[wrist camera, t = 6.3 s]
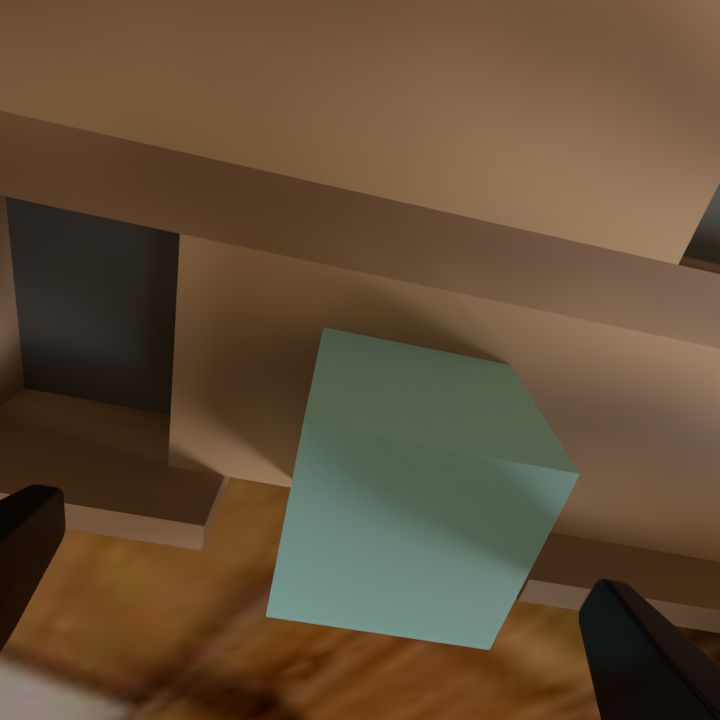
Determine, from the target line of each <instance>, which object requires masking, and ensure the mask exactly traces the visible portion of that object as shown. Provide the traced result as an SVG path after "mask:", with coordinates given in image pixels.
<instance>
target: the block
mask: <svg viewBox="0 0 720 720" xmlns="http://www.w3.org/2000/svg"><path fill="white" fill-rule="evenodd" d="M579 475H580V473H579V472H578V470H577V468H576V467H575V465H574V464H573V462H572V461H571V459H570V457H569V456H568V454H567V453H566V451H565V450H564V448H563V446H562V445H561V443H560V442H559V440H558V439H557V437H556V435H555V434H554V432H553V431H552V429H551V428H550V426H549V424H548V423H547V421H546V420H545V418H544V417H543V415H542V413H541V412H540V410H539V409H538V407H537V406H536V404H535V402H534V401H533V399H532V398H531V396H530V394H529V393H528V391H527V390H526V388H525V387H524V385H523V383H522V382H521V380H520V379H519V377H518V376H517V374H516V372H515V371H514V369H513V368H512V366H511V365H508V364H503V363H498V362H493V361H488V360H483V359H478V358H473V357H468V356H464V355H459V354H454V353H449V352H444V351H439V350H434V349H429V348H424V347H419V346H414V345H409V344H404V343H399V342H394V341H389V340H384V339H379V338H374V337H369V336H365V335H360V334H355V333H350V332H345V331H340V330H335V329H330V328H325V327H323V332H322V337H321V341H320V346H319V351H318V355H317V360H316V365H315V370H314V374H313V379H312V384H311V388H310V393H309V398H308V403H307V407H306V412H305V417H304V421H303V426H302V432H301V437H300V442H299V447H298V452H297V458H296V463H295V468H294V473H293V478H292V483H291V489H290V494H289V499H288V504H287V509H286V515H285V520H284V525H283V530H282V535H281V540H280V546H279V551H278V556H277V561H276V566H275V572H274V577H273V582H272V587H271V592H270V597H269V603H268V608H267V613H266V617H272V618H279V619H286V620H292V621H299V622H306V623H312V624H319V625H326V626H333V627H339V628H346V629H353V630H359V631H366V632H373V633H379V634H386V635H393V636H399V637H406V638H413V639H420V640H426V641H433V642H440V643H446V644H453V645H460V646H466V647H473V648H480V649H486V650H490V648H491V646H492V644H493V642H494V640H495V638H496V636H497V634H498V632H499V630H500V628H501V626H502V624H503V622H504V620H505V619H506V617H507V615H508V613H509V611H510V609H511V607H512V605H513V603H514V601H515V599H516V597H517V595H518V593H519V591H520V589H521V588H522V586H523V584H524V582H525V580H526V578H527V576H528V574H529V572H530V570H531V568H532V566H533V564H534V562H535V560H536V559H537V557H538V555H539V553H540V551H541V549H542V547H543V545H544V543H545V541H546V539H547V537H548V535H549V533H550V531H551V529H552V528H553V526H554V524H555V522H556V520H557V518H558V516H559V514H560V512H561V510H562V508H563V506H564V504H565V502H566V500H567V498H568V497H569V495H570V493H571V491H572V489H573V487H574V485H575V483H576V481H577V479H578V477H579Z"/></svg>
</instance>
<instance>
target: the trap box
mask: <svg viewBox="0 0 720 720" xmlns="http://www.w3.org/2000/svg"><path fill="white" fill-rule="evenodd" d="M323 327H325V328H330V329H335V330H340V331H345V332H350V333H355V334H360V335H365V336H369V337H374V338H379V339H384V340H389V341H394V342H399V343H404V344H409V345H414V346H419V347H424V348H429V349H434V350H439V351H444V352H449V353H454V354H459V355H464V356H468V357H473V358H478V359H483V360H488V361H493V362H498V363H503V364H508V365H511V366H512V368H513V369H514V371H515V372H516V374H517V376H518V377H519V379H520V380H521V382H522V383H523V385H524V387H525V388H526V390H527V391H528V393H529V394H530V396H531V398H532V399H533V401H534V402H535V404H536V406H537V407H538V409H539V410H540V412H541V413H542V415H543V417H544V418H545V420H546V421H547V423H548V424H549V426H550V428H551V429H552V431H553V432H554V434H555V435H556V437H557V439H558V440H559V442H560V443H561V445H562V446H563V448H564V450H565V451H566V453H567V454H568V456H569V457H570V459H571V461H572V462H573V464H574V465H575V467H576V468H577V470H578V472H579V473H580V475H579V477H578V479H577V481H576V483H575V485H574V487H573V489H572V491H571V493H570V495H569V497H568V498H567V500H566V502H565V504H564V506H563V508H562V510H561V512H560V514H559V516H558V518H557V520H556V522H555V524H554V526H553V528H552V529H551V531H550V533H549V535H548V537H547V539H546V541H545V543H544V545H543V547H542V549H541V551H540V553H539V555H538V557H537V559H536V560H535V562H534V564H533V566H532V568H531V570H530V572H529V574H528V576H527V578H526V580H525V582H524V584H523V586H522V588H521V589H520V591H519V593H518V595H517V599H518V601H521V602H527V603H534V604H540V605H546V606H552V607H559V608H565V609H571V610H578V611H580V608H581V606H582V604H583V602H584V601H585V599H586V597H587V596H588V594H589V593H590V591H591V589H592V588H593V586H594V584H595V583H596V582H597V580H599V579H601V578H608V579H614V580H620V581H623V582H625V583H627V584H628V585H630V586H631V587H632V588H633V589H634V590H635V591H636V592H638V593H639V594H640V595H641V596H642V597H643V598H644V599H645V600H646V601H648V602H649V603H650V604H651V605H652V606H653V607H654V608H655V609H656V610H658V611H659V612H660V613H661V614H662V615H663V616H664V617H665V618H666V619H668V620H669V621H670V622H671V623H672V624H673V625H674V626H678V627H684V628H691V629H697V630H703V631H709V632H716V633H720V0H0V500H1V499H3V498H5V497H7V496H9V495H11V494H13V493H15V492H17V491H19V490H21V489H23V488H25V487H27V486H30V485H33V484H41V485H47V486H53V487H58V488H60V489H61V490H62V491H63V494H64V506H65V521H66V528H65V529H69V530H75V531H82V532H88V533H94V534H101V535H107V536H113V537H119V538H126V539H132V540H138V541H145V542H151V543H157V544H163V545H170V546H176V547H182V548H188V549H195V550H201V551H202V549H203V546H204V544H205V541H206V539H207V536H208V534H209V531H210V528H211V526H212V523H213V521H214V518H215V516H216V513H217V511H218V508H219V505H220V503H221V500H222V498H223V495H224V493H225V490H226V487H227V485H228V482H229V480H230V477H233V478H239V479H244V480H250V481H256V482H262V483H267V484H273V485H279V486H285V487H291V483H292V478H293V473H294V468H295V463H296V458H297V452H298V447H299V442H300V437H301V432H302V426H303V421H304V417H305V412H306V407H307V403H308V398H309V393H310V388H311V384H312V379H313V374H314V370H315V365H316V360H317V355H318V351H319V346H320V341H321V337H322V332H323Z"/></svg>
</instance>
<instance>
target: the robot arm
mask: <svg viewBox="0 0 720 720" xmlns="http://www.w3.org/2000/svg"><path fill="white" fill-rule="evenodd" d="M65 528H66V521H65V506H64V494H63V491H62V490H61V489H60V488H58V487H53V486H47V485H41V484H33V485H30V486H27V487H25V488H23V489H21V490H19V491H17V492H15V493H13V494H11V495H9V496H7V497H5V498H3V499H1V500H0V652H1V650H2V649H3V647H4V646H5V644H6V642H7V641H8V639H9V638H10V636H11V634H12V632H13V631H14V629H15V627H16V625H17V623H18V622H19V620H20V618H21V616H22V614H23V612H24V611H25V609H26V607H27V605H28V603H29V601H30V599H31V597H32V596H33V594H34V592H35V590H36V588H37V586H38V584H39V583H40V581H41V579H42V577H43V575H44V573H45V571H46V569H47V568H48V566H49V564H50V562H51V560H52V558H53V556H54V555H55V553H56V551H57V549H58V547H59V545H60V543H61V541H62V539H63V537H64V533H65ZM579 625H580V629H581V633H582V638H583V642H584V647H585V651H586V656H587V660H588V665H589V669H590V673H591V678H592V682H593V687H594V691H595V696H596V700H597V704H598V708H599V712H600V716H601V720H720V666H719V665H718V664H717V663H715V662H714V661H713V660H712V659H711V658H710V657H709V656H708V655H707V654H705V653H704V652H703V651H702V650H701V649H700V648H699V647H698V646H697V645H695V644H694V643H693V642H692V641H691V640H690V639H689V638H688V637H687V636H685V635H684V634H683V633H682V632H681V631H680V630H679V629H678V628H677V627H675V626H674V625H673V624H672V623H671V622H670V621H669V620H668V619H666V618H665V617H664V616H663V615H662V614H661V613H660V612H659V611H658V610H656V609H655V608H654V607H653V606H652V605H651V604H650V603H649V602H648V601H646V600H645V599H644V598H643V597H642V596H641V595H640V594H639V593H638V592H636V591H635V590H634V589H633V588H632V587H631V586H630V585H628V584H627V583H625V582H623V581H620V580H614V579H608V578H601V579H599V580H597V582H596V583H595V584H594V586H593V588H592V589H591V591H590V593H589V594H588V596H587V597H586V599H585V601H584V602H583V604H582V606H581V608H580V611H579Z"/></svg>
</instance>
